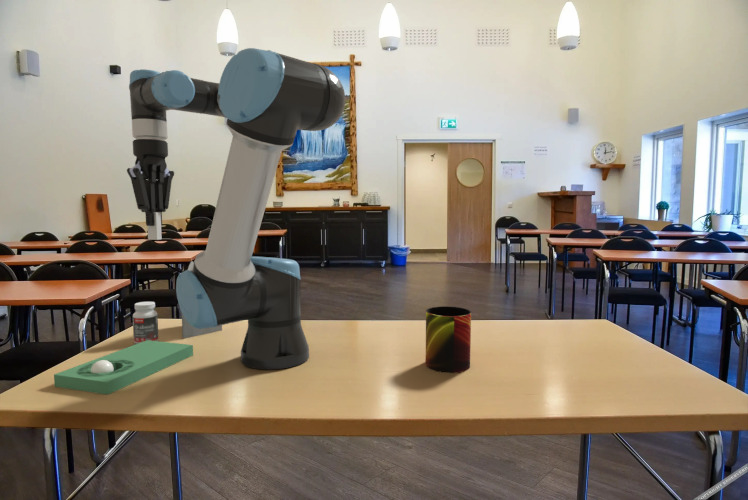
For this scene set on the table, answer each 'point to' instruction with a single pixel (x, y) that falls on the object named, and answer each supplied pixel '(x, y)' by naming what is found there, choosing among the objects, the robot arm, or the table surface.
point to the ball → (102, 367)
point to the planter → (192, 331)
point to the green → (124, 367)
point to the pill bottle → (145, 322)
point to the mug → (448, 339)
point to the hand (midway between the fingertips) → (154, 239)
